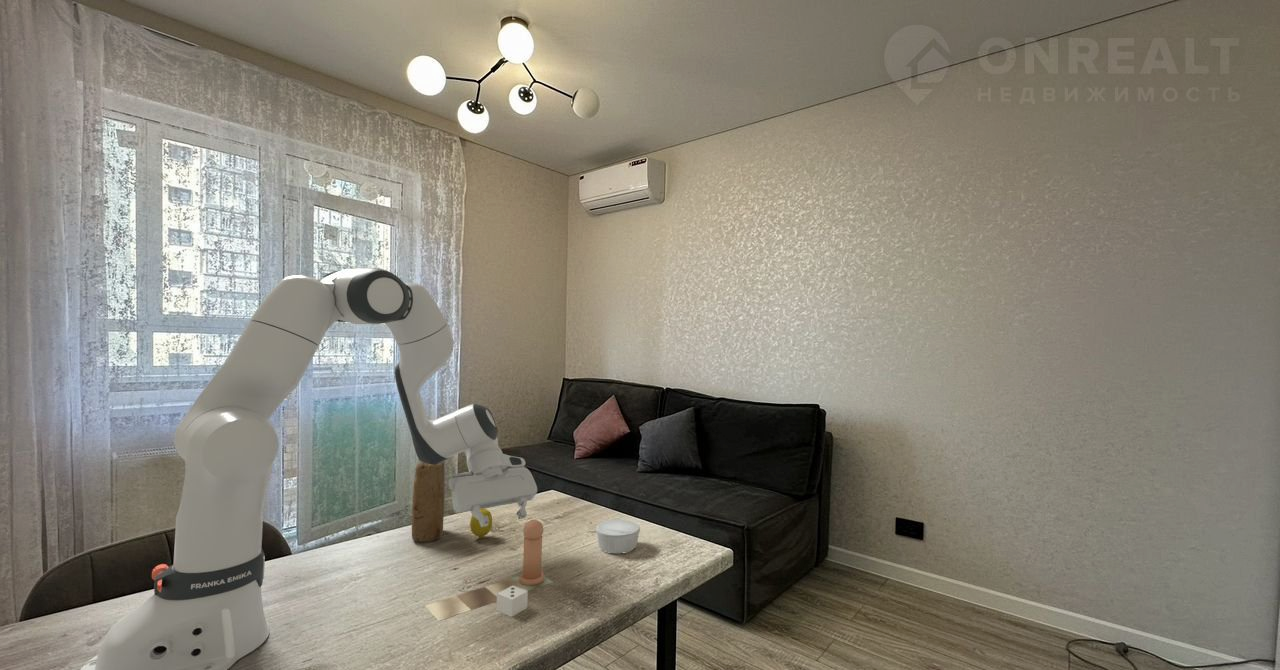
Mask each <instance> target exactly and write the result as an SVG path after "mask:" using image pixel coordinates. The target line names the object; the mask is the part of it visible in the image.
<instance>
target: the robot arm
mask: <svg viewBox="0 0 1280 670" xmlns="http://www.w3.org/2000/svg"><path fill="white" fill-rule="evenodd" d="M335 322H338V323H339V322H341V323H350V324H353V325H354V324H355V325H371V324H372V325H381V324H385V326H386V327H387V328H388V329H389V330H390V332H391V333H392V336H393V338H394V340H395V343H396V345H397V346H398V347H397V348H398V349H399V354H400V356H399V358H400V359H399V362H398V363H397V364H396V365H395V366H394V378H395V384H396V388H397V392H398V395H399V399H400V402H401V405H402V406H401V407H402V408H403V413H404V415H405V419H406V421H407V425H408V428H409V431H410V435H411V442H412V448H413V451H414V453H415V455H416V458H418V460H419V461H421V462H424V463H427V464H431V465H438V464H439V463H441V462H443V461H444V462H445V461H446V460H449V459H450V458H451V457H454V456H456V455H458V454H459V455H460V453H463V454H464V455H465V457H466V466H467V470H468V471H465V472H462V473H460V472H459V473H453V474H452V475H451V476H450V477H449V478H448V479H447V484H448V488H449V490H450V492H451V503H452V508H453V510H454V511H455V512H456V513H457V514H461V513H467V512H468V513H469V512H471V516H472V515H473V516H474V517H475V518H476V519H477V520H478V521H479V523H480V526H481V527H484V526H488V524H489V519H488V515H487V516H484V515H483V514H482V513H481V512H480V509H489V508H495V507H500V506H506V505H512V504H517V505H518V506H519V507H520V508H519V509H518V511H517V512H516V516H517V518H518V520H521V519H526V517H527V515H528V513H527V510H526V507H527V502H529V501H532V500H533V499H534V498H535V496H536V495H537V493H538V486H537V483H536V481H535V479H534V476H533V474H532V472H531V471H530V470H529V469H528V468H527V467H526V466H525V465H526V460H525V459H524V458H523V457H521V456H520V457H518V456H513V455H508V454H506V453H503V451H502V449H501V448H500V446H499V439H498V435H499V434H498V433H499V430H498V428H497V425H496V422H495V417H494V416H493V414H492V412H491V410H490V409H489V408H488V407H486V406H484V405H481V404H478V403H472V404H468V405H467V406H466V405H465V406H464V407H462V408H459V409H457V410H454V411H453V412H450V413H448V414H446V415H443V416H441V417H438V418H436V419H429V418H428V417H427V413H426V410H425V405H424V403H423V400H422V396H421V393H420V392H421V389H422V387H423V386H424V385H425V383H426V382H427V381H428V380H429V379H431V377H432V376H434V375H435V374H436V373H437V372H438V371H440V370H441V368H442V367H444V366H445V364H446V363H447V362H448V360H449V359H450V357H451V356H452V353H453V350H454V344H455V343H454V339H453V334H452V333H451V332H452V331H451V329H450V327H449V325H448V322H447V321H446V319H445V316H444V315H443V312H442V311H441V309H440V308H439V306H438V304H437V302H436V301H435V300H434V298H433V297H432V295H431V294H430V293H429V291H428V290H427V289H426V287H424V286H423V285H422V284H419V283H416V282H404V281H403V280H402V279H401V278H400V277H398V276H397V275H396V274H395V273H393V272H391V271H388V270H385V269H383V268H378V267H371V268H368V267H367V268H363V267H350V268H346V269H340V270H335V271H332V272H331V271H330V272H329V273H327V274H325V275H323V276H321V277H319V278H318V279H316V278H313V277H310V276H307V275H296V274H295V275H290V276H286V277H284V278H283V279H281V280H280V281H279V282H278V283H277V284H276V285H275V286H274V287H273V288H272V289H271V291H270V292H269V293H267V295H265V298H264V299H263V300H262V302H261V303H260V304H259V306H258V307H257V308H256V310H255V311H254V313H253V314H252V316H251V318H250V319H249V321H248V322H247V324H246V326H245V327H244V330H243V331H242V332H241V334H240V336H239V338H238V339H237V340H236V343H235V345H234V346H233V348H232V350H231V351H230V352H229V354H228V356H227V358H226V359H225V360H224V362H223V364H222V365H221V366H220V368H219V369H218V371H217V372H216V373H215V374H214V376H213V377H212V378H211V380H210V381H209V382H208V383H207V385H205V387H204V389H203V390H202V392H201V393H200V394H199V395H198V397H197V398H196V400H195V401H194V402H193V404H192V405H191V407H190V408H189V410H188V411H187V412H186V414H184V417H183V418H182V420H181V421H180V422H179V424H178V426H177V428H176V430H175V432H174V437H173V444H174V448H175V451H176V452H177V454H178V455H179V457H181V458H182V459H183V460H184V464H185V465H184V466H185V467H184V468H185V469H184V470H185V471H184V479H183V486H182V490H181V491H182V492H181V497H180V503H179V508H178V512H177V514H176V516H175V529H174V530H175V531H174V532H175V533H174V549H173V550H174V551H173V564H172V565H169V566H168V564H165V563H161V564H158V565H156V566H155V567H154V568H153V569H152V571H151V579H152V580H153V581H154V583H153V585H154V586H153V593H154V594H153V595H151V596H150V597H149V598H147V599H146V600H145V601H144V602H142V603H140V604H139V605H138V606H137V607H135V608H133V609H132V610H131V611H129V613H127V614H126V615H124V616H123V617H122V618H120V619H119V620H117V621H116V622H115V623H114V624H113V625H112V626H111V628H110V629H109V630H108V632H107V633H106V635H105V636H104V639H103V640H102V643H101V645H100V647H99V650H98V652H97V654H96V655H95V656H93V657H92V658H91V659H89V660H88V661H87V662H86V663H85V664H83V666H82V667H81V668H79V670H229V669H230V668H231V667H232V666H233V665H234V664H235V663H236V662H237V661H239V660H240V659H242V658H244V657H245V656H246V655H248V654H250V653H251V652H253V651H255V650H257V648H259V647H260V646H261V645H262V644H263V643H264V642H265V641H266V640H267V639H268V637H269V636H270V629H269V626H268V623H267V620H266V616H265V612H264V606H263V597H262V586H263V582H264V579H265V567H266V566H265V562H266V561H265V560H266V558H265V557H266V556H265V552H264V549H263V548H262V543H263V542H262V540H263V525H264V524H263V521H264V507H265V501H266V497H267V491H268V488H269V487H268V486H269V484H270V479H271V475H272V470H273V464H274V460H275V459H276V458H277V457H276V456H277V455H278V451H279V445H280V442H279V438H278V434H277V431H276V429H275V427H274V426H273V424H272V423H271V422H270V419H271V417H273V415H274V414H275V412H276V411H277V409H279V407H280V406H281V405H282V403H283V402H284V401H285V400H286V399H287V397H288V396H289V395H290V394H291V393H292V392H293V391H294V390H296V389H297V387H298V386H299V384H300V382H301V380H302V378H303V376H304V374H305V372H306V371H307V369H308V367H309V365H310V364H311V361H312V359H313V357H314V356H315V354H316V352H317V350H318V348H319V346H320V344H321V343H322V341H323V338H324V336H325V334H326V333H327V331H328V330H329V329H330V328H331V326H333V324H334V323H335ZM92 663H96V664H94V665H90V664H92Z"/></svg>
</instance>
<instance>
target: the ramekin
mask: <svg viewBox="0 0 1280 670" xmlns="http://www.w3.org/2000/svg"><path fill="white" fill-rule="evenodd" d="M640 532H641V527H640V525H639V524H638V523H637V522H634V521H631V520H626V519H610V520H605V521H602V522H600V523H598V524H597V525H596V527H595V533H596V536H597V545H598V547H599V549H600V550H601V549H602V550H603V551H602V550H601V551H602V552H604V551H606V552H610V553H623V552H629V551H631V550H633V549H634V548H635V549H636V548H637V546H638V545H637V544H638V540H639V539H638V538H639V534H640ZM635 549H634V550H635ZM634 550H633V551H634ZM606 552H605V553H606ZM610 553H609V554H610ZM629 553H630V552H629Z"/></svg>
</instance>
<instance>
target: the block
mask: <svg viewBox="0 0 1280 670" xmlns="http://www.w3.org/2000/svg"><path fill="white" fill-rule="evenodd" d="M445 473H446V472H445V461H443V462H441V463H439V464H438V465H431V464H427V463H424V462H421V461H420V460H419V461H418V462H417V464H416V467H415V471H414V479H413V490H412V492H413V493H412V502H411V503H412V508H411V538H412V540H413V541H415V542H418V541H419V542H422V543H425V542H426V543H427V542H433V541H437V540H438V539H441V538H442V536H443V531H444V518H445V517H444V516H445V515H444V513H445V486H446V484H445V482H446V481H445V480H446V479H445V478H446V477H445V475H446V474H445ZM419 542H418V543H419Z"/></svg>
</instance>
